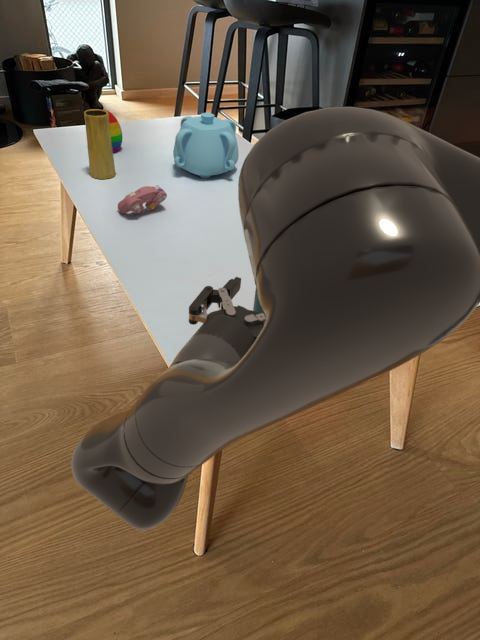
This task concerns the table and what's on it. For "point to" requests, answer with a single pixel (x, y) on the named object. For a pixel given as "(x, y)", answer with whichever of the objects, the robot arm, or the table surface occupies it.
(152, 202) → the video game controller
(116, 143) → the decorative egg
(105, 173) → the vase
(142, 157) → the table surface
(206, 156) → the decorative pot
